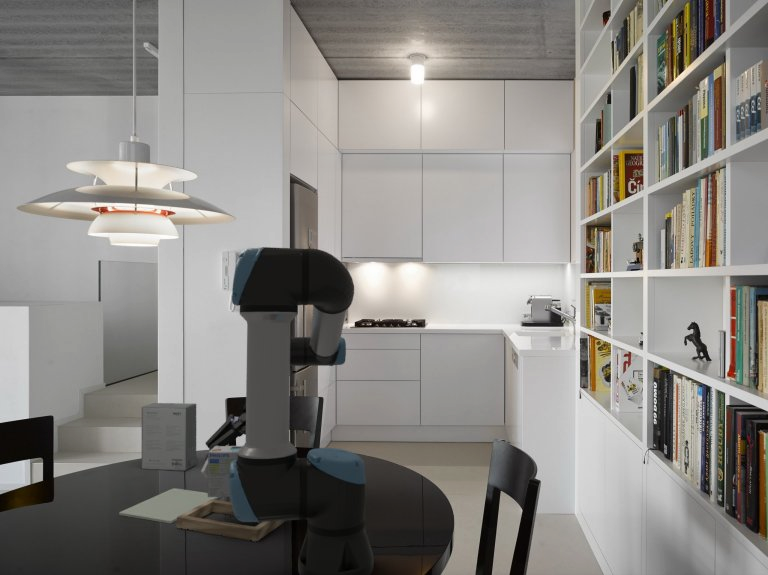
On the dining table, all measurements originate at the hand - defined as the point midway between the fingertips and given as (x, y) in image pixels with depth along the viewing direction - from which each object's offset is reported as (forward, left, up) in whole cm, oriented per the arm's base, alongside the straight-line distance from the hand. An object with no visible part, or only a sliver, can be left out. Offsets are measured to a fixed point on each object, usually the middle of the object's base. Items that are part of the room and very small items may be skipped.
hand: (226, 477), depth 137 cm
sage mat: (+7, +22, -12) cm, 26 cm away
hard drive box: (+35, +47, -12) cm, 60 cm away
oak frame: (+2, 0, -12) cm, 12 cm away
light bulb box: (+3, 0, -5) cm, 5 cm away
